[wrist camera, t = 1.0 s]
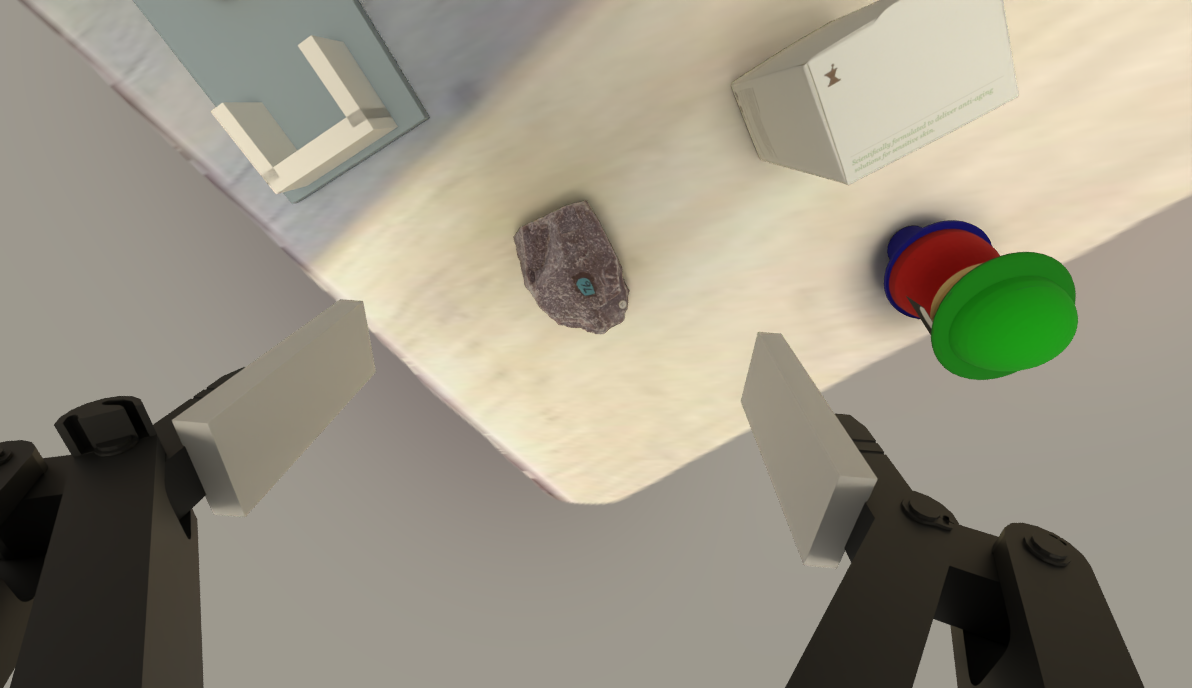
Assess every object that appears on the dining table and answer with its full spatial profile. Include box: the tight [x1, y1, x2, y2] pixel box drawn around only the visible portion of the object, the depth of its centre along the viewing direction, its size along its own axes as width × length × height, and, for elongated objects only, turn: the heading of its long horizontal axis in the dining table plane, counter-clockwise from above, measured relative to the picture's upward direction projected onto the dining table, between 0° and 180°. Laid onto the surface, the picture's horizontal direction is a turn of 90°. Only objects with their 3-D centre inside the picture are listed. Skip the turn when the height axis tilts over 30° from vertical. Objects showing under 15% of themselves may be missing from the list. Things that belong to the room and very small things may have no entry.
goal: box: [211, 35, 398, 194], centre depth 35 cm, size 6×10×4 cm, turn 118°
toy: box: [884, 220, 1078, 380], centre depth 34 cm, size 9×9×15 cm
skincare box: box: [731, 0, 1019, 185], centre depth 28 cm, size 8×7×16 cm
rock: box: [513, 201, 629, 334], centre depth 40 cm, size 8×11×5 cm
